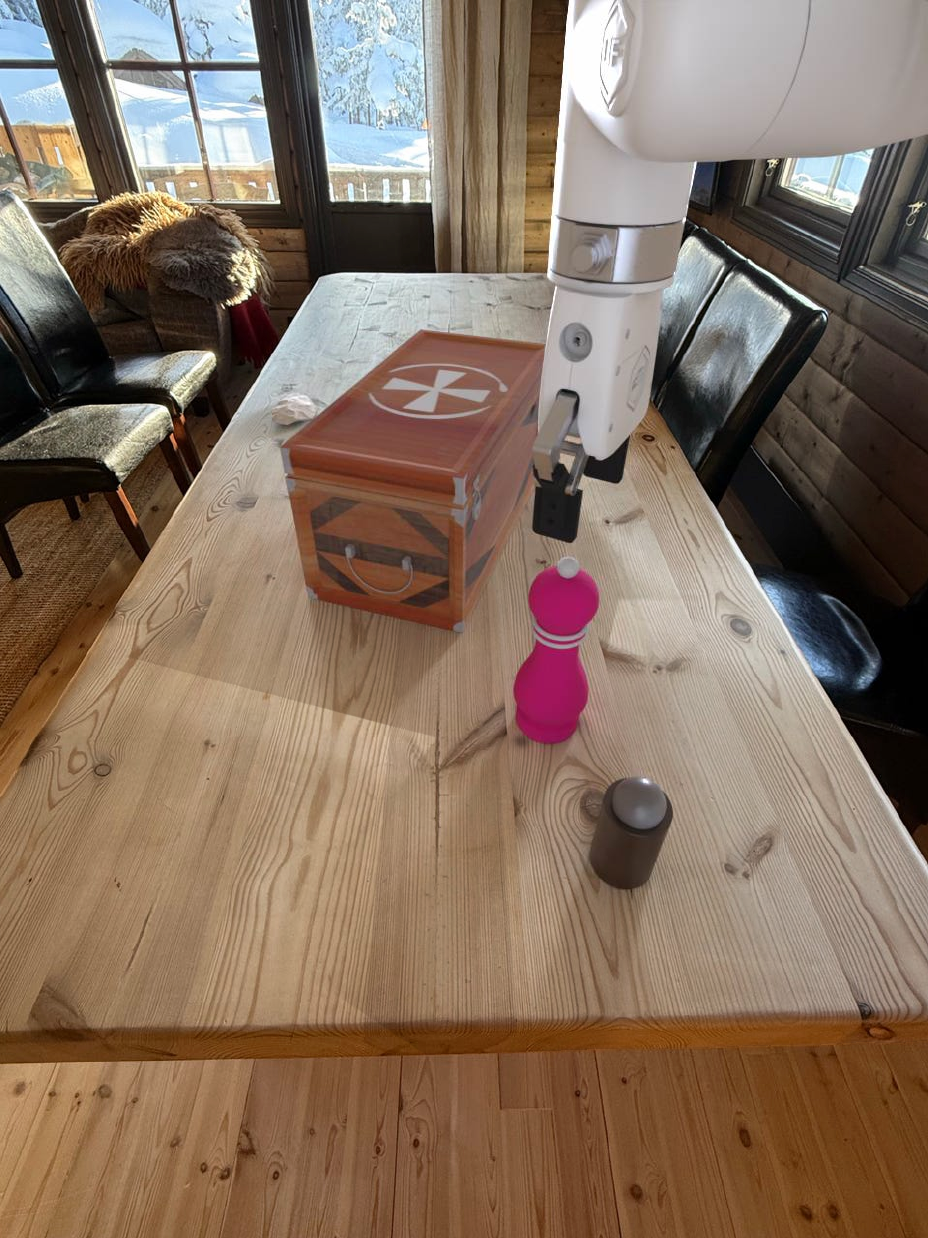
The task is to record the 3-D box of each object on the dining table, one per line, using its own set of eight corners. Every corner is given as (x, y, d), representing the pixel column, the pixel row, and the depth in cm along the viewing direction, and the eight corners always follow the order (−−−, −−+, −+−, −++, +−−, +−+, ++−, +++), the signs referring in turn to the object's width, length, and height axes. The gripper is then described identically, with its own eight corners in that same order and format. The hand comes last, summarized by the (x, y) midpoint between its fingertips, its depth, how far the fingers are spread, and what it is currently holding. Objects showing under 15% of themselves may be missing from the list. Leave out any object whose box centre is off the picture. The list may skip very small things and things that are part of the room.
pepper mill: (513, 689, 70) (527, 530, 56) (582, 697, 69) (612, 537, 56) (507, 743, 64) (521, 581, 51) (582, 752, 63) (615, 590, 50)
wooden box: (544, 472, 105) (557, 344, 92) (464, 635, 76) (466, 480, 63) (425, 453, 110) (420, 328, 97) (306, 599, 81) (276, 448, 68)
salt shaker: (660, 849, 56) (688, 776, 49) (641, 901, 52) (668, 831, 46) (602, 822, 58) (621, 749, 51) (580, 871, 54) (598, 799, 48)
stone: (269, 429, 116) (267, 418, 115) (278, 397, 127) (276, 387, 125) (314, 427, 117) (312, 416, 116) (319, 396, 127) (318, 386, 126)
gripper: (627, 293, 32) (584, 579, 43) (712, 233, 43) (660, 470, 54) (489, 274, 34) (482, 547, 45) (603, 222, 46) (575, 450, 57)
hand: (579, 505), depth 50 cm, fingers open, 9 cm apart
